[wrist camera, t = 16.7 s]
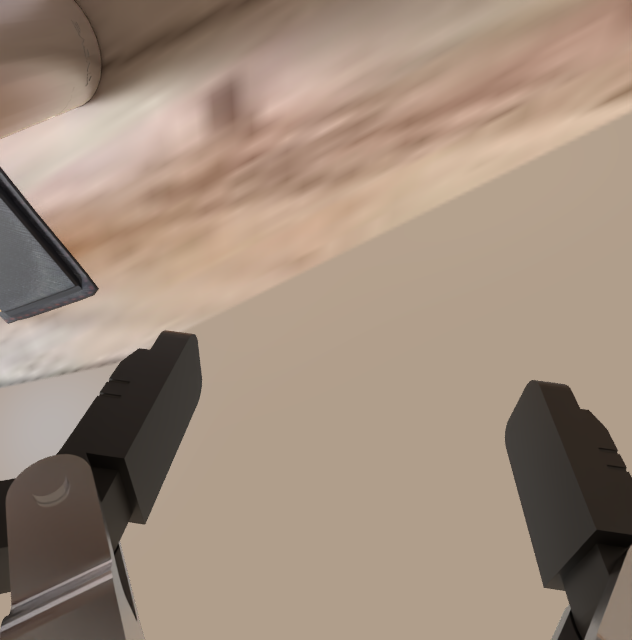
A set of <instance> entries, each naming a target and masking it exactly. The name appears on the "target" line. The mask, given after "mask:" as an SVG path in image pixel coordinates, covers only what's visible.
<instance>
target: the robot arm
mask: <svg viewBox="0 0 632 640" xmlns="http://www.w3.org/2000/svg"><path fill="white" fill-rule="evenodd" d="M100 77H101V56H100V50H99V46H98V43H97V39H96V36H95V34H94V32H93V29H92V27H91V25H90V23H89V21H88V19H87V18H86V16H85V15H84V13H83V11H82V10H81V8H80V7H79V6H78V5H77V4H76V2H75V1H74V0H0V139H2V138H4V137H7V136H9V135H12V134H14V133H17V132H19V131H21V130H24V129H26V128H29V127H31V126H34V125H36V124H38V123H41V122H43V121H46V120H48V119H51V118H53V117H56V116H58V115H60V114H63V113H65V112H68V111H70V110H72V109H75V108H77V107H79V106H82V105H84V104H85V103H86V102H87V101H88V100H90V99H91V98H92V96H93V95H94V93H95V91H96V90H97V87H98V84H99V81H100ZM201 387H202V375H201V366H200V357H199V349H198V340H197V337H196V335H195V334H188V333H181V332H174V331H166V330H165V331H163V332H161V334H160V335H159V337H158V338H157V340H156V341H155V343H154V345H153V346H152V348H151V349H150V350H148V349H140V348H139V349H137V350H136V351H135V352H133V353H132V354H131V355H129V356H128V357H127V358H125V359H124V360H122V361H121V362H120V364H119V365H118V367H117V368H116V369H115V371H114V372H113V374H112V375H111V377H110V378H109V382H107V383H106V384H105V386H104V387H103V389H102V390H101V391H100V395H99V396H97V397H96V399H95V400H94V401H93V403H92V404H91V406H90V407H89V409H88V410H87V412H86V413H85V415H84V416H83V418H82V419H81V421H80V422H79V424H78V425H77V426H76V428H75V429H74V431H73V432H72V434H71V435H70V437H69V438H68V439H67V441H66V442H65V444H64V445H63V447H62V448H61V449H60V451H59V452H58V453H57V454H56V455H54V456H50V457H47V458H44V459H42V460H39V461H37V462H36V463H34V464H32V465H31V466H29V467H28V468H26V469H25V470H24V471H23V472H21V473H20V474H19V475H18V477H17V478H15V479H10V480H4V481H0V594H2V593H7V592H11V611H10V614H9V615H8V616H6V617H5V618H4V619H3V621H2V624H1V629H0V640H145V638H144V634H143V631H142V628H141V624H140V620H139V616H138V612H137V608H136V604H135V600H134V596H133V592H132V588H131V584H130V580H129V576H128V572H127V568H126V564H125V559H124V556H123V552H122V547H121V543H120V539H121V537H122V534H123V533H124V530H125V528H126V526H127V524H128V522H132V523H138V524H146V521H147V519H148V516H149V514H150V512H151V510H152V507H153V505H154V503H155V500H156V498H157V496H158V494H159V491H160V489H161V486H162V484H163V482H164V480H165V478H166V475H167V473H168V471H169V468H170V466H171V463H172V461H173V459H174V457H175V454H176V452H177V450H178V448H179V445H180V443H181V441H182V438H183V436H184V434H185V431H186V429H187V427H188V425H189V422H190V420H191V417H192V415H193V413H194V411H195V408H196V406H197V404H198V401H199V398H200V393H201ZM505 444H506V449H507V453H508V456H509V460H510V464H511V468H512V471H513V475H514V479H515V483H516V486H517V490H518V494H519V497H520V501H521V505H522V508H523V512H524V516H525V519H526V523H527V527H528V531H529V534H530V538H531V542H532V545H533V549H534V553H535V556H536V560H537V564H538V567H539V571H540V575H541V578H542V582H543V586H544V588H550V589H556V590H563V591H566V594H567V598H568V601H569V604H570V605H569V606H568V607H567V608H566V609H565V611H564V612H563V614H562V617H561V619H560V621H559V624H558V626H557V628H556V630H555V632H554V635H553V637H552V639H551V640H632V477H631V475H630V474H629V472H627V471H626V465H625V463H624V462H623V459H622V458H621V456H620V454H618V453H617V451H618V450H617V448H616V446H615V444H614V442H613V440H612V438H611V436H610V434H609V432H608V430H607V429H606V428H605V427H604V425H603V424H602V423H601V422H600V421H599V420H598V419H597V418H596V417H595V416H594V415H593V414H592V413H591V412H590V411H589V410H584V409H580V407H579V405H578V404H577V401H576V399H575V397H574V395H573V393H572V391H571V389H570V388H569V386H567V385H565V384H558V383H551V382H543V381H536V380H532V381H530V382H529V383H528V384H527V386H526V387H525V389H524V391H523V393H522V395H521V397H520V399H519V401H518V403H517V405H516V407H515V409H514V411H513V412H512V414H511V416H510V418H509V420H508V423H507V426H506V431H505Z"/></svg>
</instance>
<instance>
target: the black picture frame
mask: <svg viewBox="0 0 632 640" xmlns="http://www.w3.org/2000/svg"><path fill="white" fill-rule="evenodd" d="M97 290H98V287H97V286H96V285H95V283H94V282H93V281H92V279H91V278H90V277H89V276H88V274H87V273H86V272H85V271H84V269H83V268H82V267H81V266H80V264H79V263H78V262H77V261H76V259H75V258H74V257H73V256H72V255H71V253H70V252H69V251H68V250H67V249H66V247H65V246H64V245H63V244H62V243H61V241H60V240H59V239H58V238H57V237H56V236H55V234H54V233H53V232H52V231H51V230H50V228H49V227H48V226H47V225H46V224H45V222H44V221H43V220H42V219H41V218H40V216H39V215H38V214H37V213H36V211H35V210H34V209H33V208H32V206H31V205H30V204H29V203H28V201H27V200H26V199H25V198H24V196H23V195H22V194H21V193H20V191H19V190H18V189H17V188H16V186H15V185H14V184H13V183H12V181H11V180H10V179H9V178H8V176H7V175H6V174H5V173H4V171H3V170H2V169H1V168H0V316H1V317H2V318H3V319H4V320H5V321H6V322H7V323H8V324H9V323H12V322H15V321H17V320H21V319H26V318H30V317H33V316H36V315H39V314H41V313H44V312H47V311H50V310H53V309H56V308H59V307H62V306H65V305H68V304H71V303H74V302H77V301H80V300H83V299H85V298H88V297H90V296H93V295H95V293H96V292H97Z"/></svg>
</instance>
